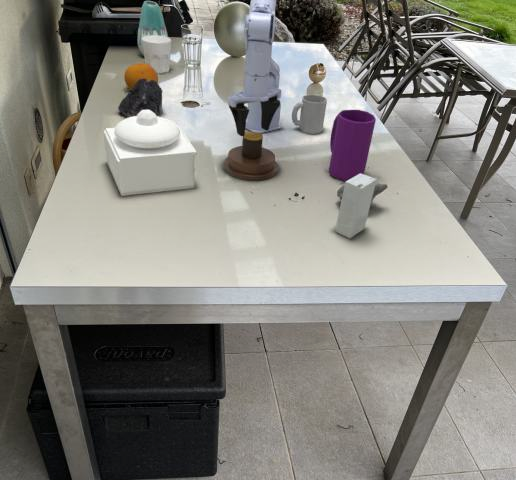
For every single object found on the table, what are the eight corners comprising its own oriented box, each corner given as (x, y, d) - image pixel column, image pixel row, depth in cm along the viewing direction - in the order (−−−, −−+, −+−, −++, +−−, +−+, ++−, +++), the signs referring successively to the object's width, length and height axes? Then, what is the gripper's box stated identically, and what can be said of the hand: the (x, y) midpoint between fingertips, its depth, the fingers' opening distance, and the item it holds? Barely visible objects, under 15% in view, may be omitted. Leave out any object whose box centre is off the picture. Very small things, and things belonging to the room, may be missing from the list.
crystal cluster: (122, 125, 154) (121, 90, 147) (114, 104, 162) (114, 70, 155) (167, 126, 158) (169, 92, 151) (158, 106, 167) (159, 73, 160)
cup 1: (170, 75, 188) (168, 44, 181) (141, 73, 188) (139, 41, 181) (173, 67, 195) (172, 36, 189) (146, 64, 195) (144, 34, 188)
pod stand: (255, 153, 145) (256, 140, 142) (288, 173, 137) (290, 159, 135) (213, 163, 138) (213, 150, 135) (245, 185, 130) (246, 171, 128)
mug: (337, 183, 135) (347, 123, 125) (314, 157, 145) (322, 100, 135) (369, 180, 137) (382, 121, 127) (344, 155, 148) (355, 99, 138)
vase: (175, 58, 204) (173, 3, 192) (151, 62, 197) (148, 6, 185) (156, 50, 209) (153, -3, 197) (132, 55, 203) (127, -1, 190)
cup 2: (325, 134, 158) (330, 103, 152) (293, 134, 156) (297, 103, 150) (318, 124, 163) (322, 94, 157) (287, 125, 161) (290, 94, 155)
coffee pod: (249, 149, 138) (250, 129, 134) (265, 154, 136) (266, 135, 132) (237, 155, 134) (238, 135, 131) (254, 160, 132) (255, 141, 129)
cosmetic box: (348, 222, 121) (359, 171, 112) (365, 229, 119) (377, 178, 110) (333, 232, 117) (343, 180, 109) (350, 240, 115) (362, 187, 107)
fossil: (371, 196, 131) (379, 164, 126) (387, 214, 125) (396, 182, 119) (329, 198, 128) (335, 166, 123) (343, 217, 122) (350, 185, 117)
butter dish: (107, 163, 133) (99, 97, 123) (177, 157, 139) (175, 93, 128) (121, 196, 122) (113, 126, 111) (196, 187, 127) (196, 120, 117)
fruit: (134, 83, 179) (131, 57, 174) (163, 88, 177) (162, 62, 172) (119, 92, 171) (117, 65, 166) (150, 98, 170) (148, 71, 164)
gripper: (242, 82, 117) (239, 143, 126) (291, 73, 124) (285, 132, 133) (223, 72, 121) (221, 132, 130) (272, 65, 128) (267, 122, 137)
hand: (252, 131), depth 132 cm, fingers open, 7 cm apart
